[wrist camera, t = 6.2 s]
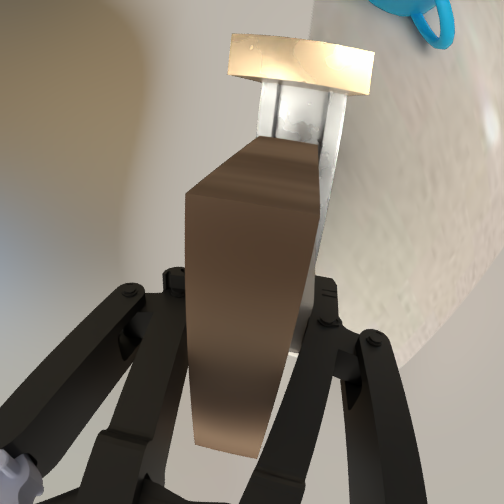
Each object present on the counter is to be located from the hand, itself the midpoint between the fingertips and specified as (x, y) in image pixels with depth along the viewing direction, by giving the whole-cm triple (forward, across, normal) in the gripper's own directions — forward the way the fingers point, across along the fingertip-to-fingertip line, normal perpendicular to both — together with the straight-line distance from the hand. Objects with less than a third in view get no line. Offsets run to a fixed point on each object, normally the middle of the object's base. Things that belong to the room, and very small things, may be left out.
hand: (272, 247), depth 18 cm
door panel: (0, 0, 0) cm, 0 cm away
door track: (+13, 0, +1) cm, 13 cm away
